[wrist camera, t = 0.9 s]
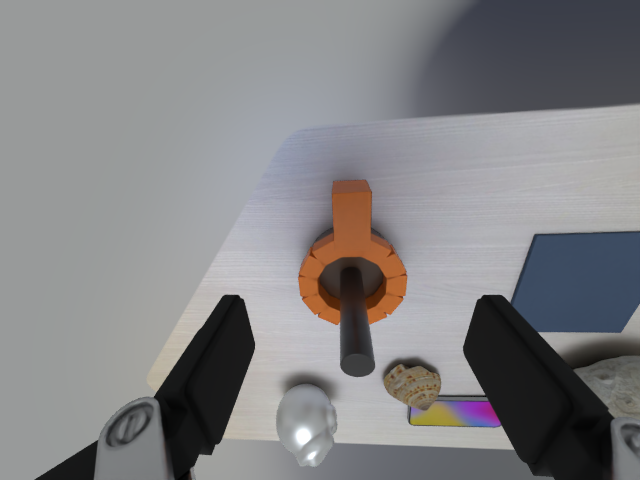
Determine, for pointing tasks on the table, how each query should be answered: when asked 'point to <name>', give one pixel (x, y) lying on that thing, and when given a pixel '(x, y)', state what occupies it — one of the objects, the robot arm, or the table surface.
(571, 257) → the mat
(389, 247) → the ring
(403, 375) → the seashell
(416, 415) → the smartphone
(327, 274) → the stake
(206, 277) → the table surface
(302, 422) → the baroque pearl
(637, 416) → the grey round stone
